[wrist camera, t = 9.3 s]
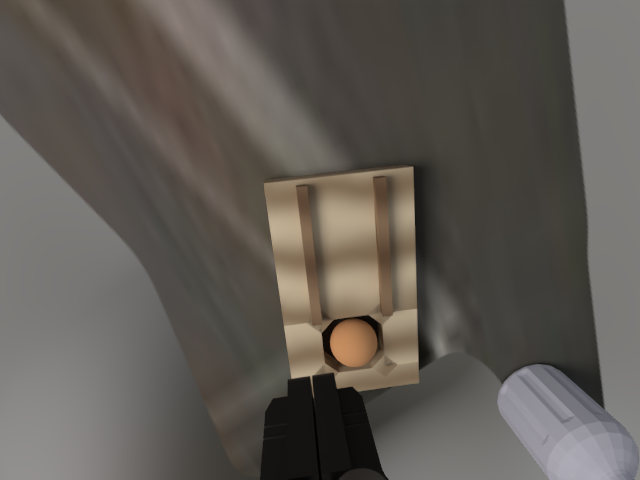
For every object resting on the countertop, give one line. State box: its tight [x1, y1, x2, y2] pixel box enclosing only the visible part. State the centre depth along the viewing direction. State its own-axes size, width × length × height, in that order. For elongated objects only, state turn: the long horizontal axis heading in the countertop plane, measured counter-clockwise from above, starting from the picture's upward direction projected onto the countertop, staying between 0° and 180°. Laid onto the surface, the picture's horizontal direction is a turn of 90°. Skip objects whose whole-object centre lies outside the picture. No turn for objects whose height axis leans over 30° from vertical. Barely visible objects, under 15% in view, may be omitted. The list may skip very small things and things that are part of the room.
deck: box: [264, 165, 419, 398], centre depth 38 cm, size 24×14×4 cm, turn 6°
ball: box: [330, 318, 377, 367], centre depth 40 cm, size 5×5×5 cm
